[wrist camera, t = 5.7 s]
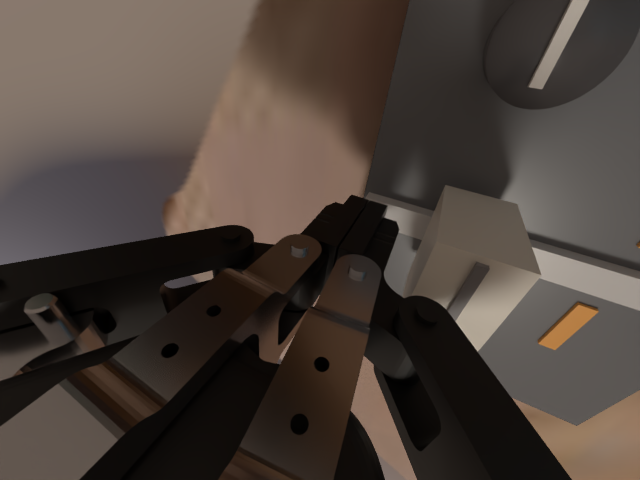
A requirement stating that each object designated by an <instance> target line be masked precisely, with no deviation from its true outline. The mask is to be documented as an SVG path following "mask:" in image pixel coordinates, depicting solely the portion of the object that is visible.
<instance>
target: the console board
mask: <svg viewBox="0 0 640 480" xmlns="http://www.w3.org/2000/svg"><path fill="white" fill-rule="evenodd" d="M445 185H448V186H452V187H455V188H459V189H463V190H467V191H470V192H474V193H478V194H482V195H485V196H489V197H493V198H497V199H500V200H504V201H508V202H512V203H515V204H517V205H518V208H519V210H520V213H521V216H522V219H523V222H524V225H525V228H526V231H527V234H528V237H529V240H530V243H531V246H532V248H533V251H534V254H535V257H536V260H537V263H538V266H539V269H540V272H541V275H542V276H541V277H540V278H539V279H538V280H537V282H536V283H535V284H534V285H533V286H532V288H531V289H530V290H529V291H528V292H527V294H526V295H525V296H524V297H523V298H522V300H521V301H520V302H519V303H518V304H517V305H516V307H515V308H514V309H513V310H512V311H511V313H510V314H509V315H508V316H507V317H506V319H505V320H504V321H503V322H502V323H501V325H500V326H499V327H498V328H497V329H496V331H495V332H494V333H493V334H492V335H491V337H490V338H489V339H488V340H487V341H486V343H485V344H484V345H483V346H482V347H481V349H480V350H479V351H478V353H479V354H480V356H481V357H482V358H483V360H484V361H485V362H486V364H487V365H488V367H489V368H490V369H491V371H492V372H493V373H494V375H495V376H496V377H497V379H498V380H499V381H500V383H501V384H502V386H503V387H504V388H505V390H506V391H507V392H508V394H509V395H510V396H511V397H512V398H514V399H516V400H519V401H521V402H523V403H526V404H528V405H530V406H532V407H535V408H537V409H539V410H542V411H544V412H546V413H548V414H551V415H553V416H555V417H558V418H560V419H562V420H564V421H567V422H569V423H571V424H574V425H576V426H577V425H579V424H581V423H583V422H584V421H586V420H588V419H589V418H591V417H593V416H595V415H596V414H598V413H600V412H602V411H603V410H605V409H607V408H609V407H610V406H612V405H614V404H616V403H617V402H619V401H621V400H623V399H624V398H626V397H628V396H630V395H631V394H633V393H635V392H637V391H638V390H640V0H410V1H409V5H408V10H407V14H406V18H405V22H404V27H403V31H402V35H401V39H400V44H399V48H398V52H397V57H396V61H395V65H394V69H393V74H392V78H391V82H390V87H389V91H388V95H387V99H386V104H385V108H384V112H383V116H382V121H381V125H380V129H379V134H378V138H377V142H376V146H375V151H374V155H373V159H372V164H371V168H370V172H369V176H368V181H367V185H366V189H365V193H364V199H368V200H369V201H370V200H371V201H374V202H378V203H381V204H384V205H388V208H387V212H386V215H385V218H387V219H390V220H393V221H397V224H398V227H399V233H398V235H397V238H396V241H395V244H394V247H393V249H392V252H391V255H390V258H389V261H388V263H387V266H386V269H385V271H384V278H385V280H386V282H387V284H388V285H389V286H390V288H391V289H392V290H394V291H395V292H396V293H397V294H399V295H400V296H402V295H403V291H404V287H405V284H406V280H407V276H408V272H409V270H410V267H411V265H412V263H413V260H414V258H415V256H416V253H417V251H418V248H419V246H420V244H421V241H422V239H423V237H424V234H425V232H426V229H427V227H428V225H429V222H430V220H431V218H432V215H433V213H434V211H435V208H436V206H437V203H438V201H439V199H440V196H441V194H442V192H443V189H444V187H445Z"/></svg>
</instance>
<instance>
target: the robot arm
mask: <svg viewBox="0 0 640 480" xmlns="http://www.w3.org/2000/svg"><path fill="white" fill-rule="evenodd" d="M387 208H388V205H384V204H381V203H378V202H374V201H371V200H370V201H369V200H368V199H364V198H361V197H358V196H355V195H351V196H350V197H349V198H348V199H347V201H346V202H345V203H344V204H340V203H337V202H335V203H332V204H330V205H328V206H326V207H325V208H324V209H323V210H322V211H321V212H320V214H318V215H317V217H316V218H315V219H314V220H313V221H312V222H311V223H310V224H309V225H308V226H307V227H306V229H305V230H304V231H303V232H302V233H301V234H293V235H289V236H286V237H284V238H282V239H281V240H280V241H279V242H277V243H276V244H275V245H273V244H264V243H257V242H254V235H253V233H252V232H251V231H250V230H249V229H247V228H245V227H243V226H238V225H227V226H221V227H215V228H210V229H204V230H198V231H193V232H187V233H181V234H176V235H170V236H164V237H158V238H153V239H147V240H141V241H136V242H130V243H124V244H119V245H114V246H108V247H101V248H96V249H90V250H84V251H79V252H73V253H67V254H61V255H56V256H50V257H44V258H39V259H33V260H27V261H22V262H16V263H10V264H4V265H0V480H385V478H384V475H383V471H382V468H381V465H380V462H379V459H378V456H377V453H376V451H375V449H374V446H373V444H372V442H371V440H370V438H369V436H368V434H367V432H366V431H365V429H364V427H363V426H362V425H361V423H360V422H359V420H358V419H357V418H356V416H355V415H354V414H353V413H352V412H351V411H350V410H351V406H352V402H353V397H354V393H355V389H356V385H357V381H358V377H359V373H360V369H361V365H362V360H363V356H365V357H366V358H367V359H368V360H370V361H371V362H372V363H373V364H374V372H375V375H376V378H377V380H378V383H379V385H380V388H381V390H382V393H383V395H384V398H385V400H386V403H387V405H388V408H389V410H390V413H391V415H392V418H393V420H394V423H395V425H396V428H397V430H398V433H399V435H400V438H401V440H402V443H403V445H404V448H405V450H406V453H407V455H408V458H409V460H410V463H411V465H412V468H413V470H414V473H415V475H416V478H417V480H572V479H571V478H570V477H569V475H568V474H567V472H566V471H565V470H564V468H563V467H562V466H561V464H560V463H559V462H558V460H557V459H556V458H555V456H554V455H553V453H552V452H551V451H550V449H549V448H548V447H547V445H546V444H545V443H544V441H543V440H542V439H541V437H540V436H539V434H538V433H537V432H536V430H535V429H534V428H533V426H532V425H531V424H530V422H529V421H528V420H527V418H526V417H525V415H524V414H523V413H522V411H521V410H520V409H519V407H518V406H517V405H516V403H515V402H514V401H513V399H512V398H511V396H510V395H509V394H508V392H507V391H506V390H505V388H504V387H503V386H502V384H501V383H500V381H499V380H498V379H497V377H496V376H495V375H494V373H493V372H492V371H491V369H490V368H489V367H488V365H487V364H486V362H485V361H484V360H483V358H482V357H481V356H480V354H479V353H478V352H477V350H476V349H475V348H474V346H473V345H472V343H471V342H470V341H469V339H468V338H467V337H466V335H465V334H464V333H463V331H462V330H461V329H460V327H459V326H458V324H457V323H456V322H455V320H454V319H453V318H452V316H451V315H450V314H449V312H448V311H447V310H446V309H445V308H444V307H443V306H442V305H440V304H439V303H438V302H436V301H434V300H432V299H430V298H427V297H424V296H417V295H415V296H409V297H406V298H403V297H402V296H400V295H399V294H397V293H396V292H395V291H394V290H392V289H391V288H390V286H389V285H388V284H387V282H386V280H385V278H384V271H385V269H386V266H387V263H388V261H389V258H390V255H391V252H392V249H393V247H394V244H395V241H396V238H397V235H398V233H399V227H398V224H397V221H393V220H390V219H387V218H385V215H386V212H387ZM211 270H212V271H213V277H214V278H213V279H211V280H208V281H204V282H200V283H196V284H192V285H188V286H185V287H180V288H174V289H172V288H168V287H166V286H165V285H164V283H165V282H167V281H170V280H174V279H178V278H181V277H186V276H190V275H194V274H199V273H203V272H207V271H211ZM319 295H320V296H319ZM318 296H319V299H318V301H317V303H316V305H315V306H314V307H313V304H314V302H315V301H316V299H317V297H318ZM294 335H295V336H294ZM293 336H294V338H293ZM292 338H293V340H292V342H291V344H290V346H289V348H288V350H287V352H286V354H285V356H284V358H283V360H282V362H281V364H277V362H278V359H279V357H280V355H281V353H282V352H283V350H284V349H285V348H286V346H287V345H288V343H289V342H290V341H291V339H292Z"/></svg>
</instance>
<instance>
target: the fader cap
mask: <svg viewBox="0 0 640 480" xmlns="http://www.w3.org/2000/svg"><path fill="white" fill-rule="evenodd" d="M541 276H542V275H541V272H540V269H539V266H538V263H537V260H536V257H535V254H534V251H533V248H532V246H531V243H530V240H529V237H528V234H527V231H526V228H525V225H524V222H523V219H522V216H521V213H520V210H519V208H518V205H517V204H515V203H512V202H508V201H504V200H500V199H497V198H493V197H489V196H485V195H482V194H478V193H474V192H470V191H467V190H463V189H459V188H455V187H452V186H448V185H445V187H444V189H443V192H442V194H441V196H440V199H439V201H438V203H437V206H436V208H435V211H434V213H433V215H432V218H431V220H430V222H429V225H428V227H427V229H426V232H425V234H424V237H423V239H422V241H421V244H420V246H419V248H418V251H417V253H416V256H415V258H414V260H413V263H412V265H411V267H410V270H409V272H408V276H407V280H406V284H405V287H404V291H403V295H402V297H403V298H406V297H409V296H415V295H417V296H424V297H427V298H430V299H432V300H434V301H436V302H438V303H439V304H440V305H442V306H443V307H444V308H445V309H446V310H447V311H448V312H449V314H450V315H451V316H452V318H453V319H454V320H455V322H456V323H457V324H458V326H459V327H460V329H461V330H462V331H463V333H464V334H465V335H466V337H467V338H468V339H469V341H470V342H471V343H472V345H473V346H474V348H475V349H476V350H477V352H478V351H479V350H480V349H481V347H482V346H483V345H484V344H485V343H486V341H487V340H488V339H489V338H490V337H491V335H492V334H493V333H494V332H495V331H496V329H497V328H498V327H499V326H500V325H501V323H502V322H503V321H504V320H505V319H506V317H507V316H508V315H509V314H510V313H511V311H512V310H513V309H514V308H515V307H516V305H517V304H518V303H519V302H520V301H521V300H522V298H523V297H524V296H525V295H526V294H527V292H528V291H529V290H530V289H531V288H532V286H533V285H534V284H535V283H536V282H537V280H538V279H539V278H540V277H541Z"/></svg>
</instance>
